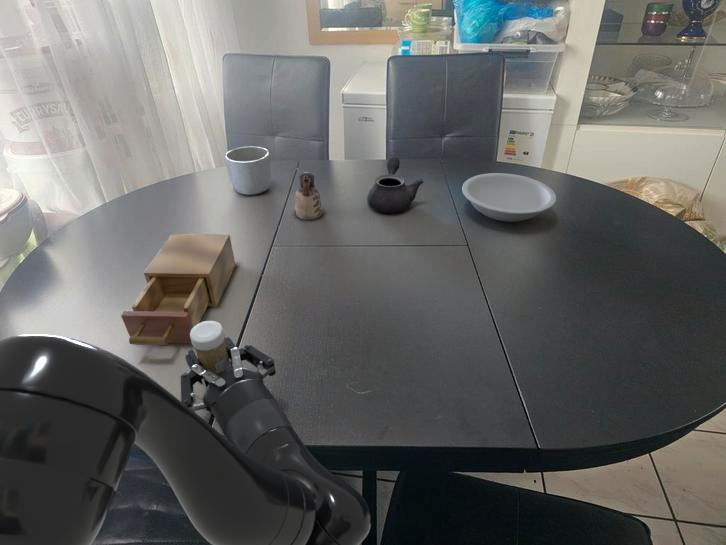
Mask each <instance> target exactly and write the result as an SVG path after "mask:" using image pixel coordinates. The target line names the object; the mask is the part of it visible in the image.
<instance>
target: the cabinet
mask: <svg viewBox="0 0 726 545" xmlns="http://www.w3.org/2000/svg"><path fill="white" fill-rule="evenodd" d="M236 264H237V263H236V259H235V256H234V250H233V246H232V240H231V236H230V234H214V233H213V234H212V233H211V234H206V233H203V234H202V233H171V235H170V236H169V238H168V239H167V240H166V241H165V243H164V244H163V245H162V247H161V249H160V250H159V251H158V253H157V254H156V255H155V257H154V258H153V260H152V261H151V262H150V263H149V265H148V267H147V268H146V269H145V270H144V272H143V276H144V278H145V281H146V284H148V283H149V282H150V280H151V279H152V277H153V276H159V277H206V281H207V284H208V288H209V292H210V296H211V299H210V301H209V303H208V305H207V307H215V308H216V307H218V305H219V303H220V301H221V298H222V295H223V294H224V292H225V291H226V290H225V289H226V287H227V285H228V283H229V281H230V279H231V277H232V274H233V272H234V270H235V267H236Z"/></svg>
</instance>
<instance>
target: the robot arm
mask: <svg viewBox="0 0 726 545" xmlns="http://www.w3.org/2000/svg"><path fill="white" fill-rule="evenodd" d="M224 341H225V345H226V349H227V351H228V356H229V360H230V361H231V363H232V365H231V367H229V368H227V369H226V370H225V371H223V372H219V373H216V374H214V373H213V372H211V371H210V370H209V369H207V370H206V369H205V368H203V367H202V366H201V363H200V361H199V360H198V357H197V353H196V352H195V350H193V348H191V349H188V350H187V354H185V362H186V364H187V366H188V368H189V372H187V371H186V372H183V373H181V374H180V399H178V398H177V397H176V396H175V395H174V394H172V393H171V392H170V391H169V390H168V389H166V388H165V387H164V386H162V385H161V384H160V383H158V381H156V380H155V379H153V378H152V377H150V376H149V375H148V374H147V373H145V372H144V371H142V369H139V368H138V367H136V366H134V365H133V364H131V363H130V362H128V361H127V360H125V359H123V358H121V357H120V356H118V355H116V354H114V353H112V352H110V351H108V350H105V349H104V348H101V347H99V346H96V345H94V344H92V343H88V342H86V341H82V340H78V339H75V338H72V337H66V336H62V335H61V336H60V335H54V334H45V333H40V334H39V333H28V334H20V335H13V336H9V337H7V338H3V339H1V340H0V545H92V544H93V543H94V541H95V539H96V537H97V536H98V534H99V533H100V530H102V529H101V528H102V526H103V525H104V523H105V520H106V518H107V516H108V513H109V511H110V508H111V506H112V504H113V501H114V499H115V496H116V493H117V490H118V488H119V486H120V485H119V484H120V482H121V480H122V478H123V475H124V472H125V469H126V466H127V464H128V461H129V459H130V457H131V453H132V451H133V448H134V446H135V447H137V448H138V449H139V450H140V451H142V452H143V453H144V454H145V455H146V456H147V457H148V458H149V459H150V460H151V461H152V462H153V463H154V465H155V467H157V469H158V471H160V473H161V474H162V476H163V477H164V478H165V480H166V481H167V483H168V485H169V487H170V488H171V490H172V492H173V493H174V495H175V498H176V499H177V500H178V502H179V504H180V506H181V507H182V509H183V511H184V512H185V514H186V515H187V517H188V519H189V521H190V522H191V525H193V527H194V528H195V529H196V531H197V532H198V533H199V534H200V535H201V537H203V539H205V540H206V541H207V542H208V543H209V544H210V545H360V544H362V542H363V541H364V540H365V539H366V538H367V537H368V534H369V533H370V530H371V526H372V516H371V511H370V508H369V505H368V504H367V501H366V500H365V498H364V497H363V496H362V494H360V492H358V490H356V489H355V488H354V487H353V486H351V485H350V484H348V483H347V482H346V481H344V480H343V479H341V478H340V477H338V476H336V475H335V473H333V472H332V471H331V470H329V469H328V468H327V467H326V466H324V465H323V464H322V463H320V462H319V460H318V459H317V458H316V457H315V456H314V455H313V454H312V453H311V451H309V449H308V447H307V446H306V445H305V443H304V442H303V441H302V439H301V437H300V436H299V435H298V433H297V432H296V430H295V429H294V428H293V426H292V424H291V422H290V420H289V417H288V415H286V413H285V411H284V410H283V409H282V408H281V406H280V404H279V403H278V401H277V399H275V397H274V395H272V393H271V392H270V390H269V388H267V386H266V385H265V383H264V379H265V378H267V376H269V377H272V376H275V375H276V374H277V371H276V365H275V360H274V358H272V357H270V356H268V355H267V354H265V353H264V352H263V351H261V350H259V349H257V348H256V347H255V346H253V345H251V344H246V345H244V346H243V347H240V348H239V347H237V345H236V344H235V342H233V339H231V337H229V336H224ZM243 361H246V362H248V363H249V364H251V365H253V366H254V367H255V368H256V369H257V370H254V369H250V368H247V367H243ZM195 384H198V385H200V386H202V387H203V389H204V390H205V391H204V395H203V396H202V397H203V398H199V396H198V395H197V394H195V393H194V385H195ZM200 410H206V411H207V412H209V413H211V414H212V415H213V418H214V419H215V420H216V422H217V424H218V426H219V427H220V429H221V431H222V433H223V434H222V433H220V432H219V431H218V430H217V429H216V428H214V427H213V426H212V425H211V424H210V423H209V422H207V421H206V419H204V418H202V417H201V416H200V415H199V414H197V413H196V411H200Z"/></svg>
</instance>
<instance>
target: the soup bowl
mask: <svg viewBox="0 0 726 545" xmlns="http://www.w3.org/2000/svg"><path fill="white" fill-rule="evenodd" d="M461 191H462V194H463V196H464V197H465V198H466V199H467V200H468V201H469V202H470V203H471V205H472V206H473V207H474V209H475V210H477V212H479V213H481V214H482V215H484V216H485V217H488V218H490V219H493V220H496V221H500V222H506V223H507V222H509V223H511V222H514V223H515V222H523V221H527V220H530V219H532V218H534V217H536V216H538V215H539V214H541V213H542V212H545V211H547V210H549V209H551V208H552V207H553V206H554V205H555V204H556V202H557V196H556V193H555V191H554V190H553V189H552V188H551V187H550V186H549V185H547V184H546V183H543V182H541V181H539V180H537V179H534V178H531V177H528V176H524V175H519V174H516V173H515V174H514V173H506V172H504V173H503V172H494V173H493V172H491V173H482V174H477V175H474V176H472V177H470V178H468V179H467V180H465V181H464V183H463V184H462V187H461Z"/></svg>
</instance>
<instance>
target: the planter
mask: <svg viewBox="0 0 726 545" xmlns="http://www.w3.org/2000/svg"><path fill="white" fill-rule="evenodd" d="M224 159H225V164H226V168H227V172H228V177H229V181H230V184H231V187H232V189H234V191H235V192H237V193H238V194H241V195H244V196H245V195H246V196H252V195H259V194H262V193H264V192H265V191H267V190H268V189H269V188H270V186H271V183H272V170H271V160H270V151H269V150H268V149H266V148H264V147H262V146H241V147H236V148H233V149H231V150H229V151H227V152H226V153H225V155H224Z"/></svg>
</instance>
